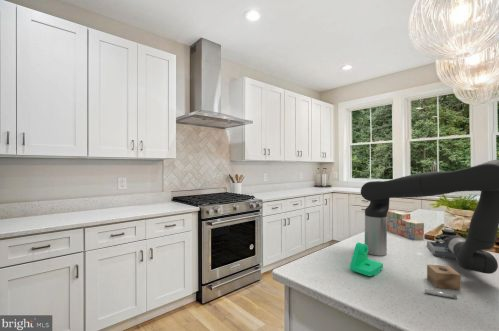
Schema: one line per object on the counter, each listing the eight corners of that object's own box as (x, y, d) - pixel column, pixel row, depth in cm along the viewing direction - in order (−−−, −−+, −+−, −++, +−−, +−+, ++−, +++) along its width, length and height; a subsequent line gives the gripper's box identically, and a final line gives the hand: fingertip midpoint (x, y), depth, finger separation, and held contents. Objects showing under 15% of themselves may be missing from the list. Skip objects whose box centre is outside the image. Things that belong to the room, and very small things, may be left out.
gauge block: (436, 287, 85) (436, 272, 85) (427, 277, 92) (427, 264, 91) (460, 289, 83) (460, 274, 83) (449, 280, 90) (449, 266, 90)
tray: (434, 256, 112) (434, 250, 112) (427, 245, 126) (427, 241, 126) (474, 261, 107) (474, 255, 107) (462, 249, 120) (462, 244, 120)
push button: (453, 253, 112) (453, 231, 112) (439, 250, 116) (439, 229, 116) (457, 250, 117) (457, 229, 116) (443, 247, 121) (443, 226, 121)
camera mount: (370, 279, 91) (370, 251, 91) (350, 272, 97) (350, 245, 97) (383, 270, 99) (383, 244, 99) (364, 264, 105) (364, 239, 104)
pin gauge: (425, 294, 80) (425, 290, 80) (424, 292, 82) (424, 288, 82) (456, 299, 77) (456, 295, 77) (455, 297, 78) (455, 293, 78)
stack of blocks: (424, 239, 136) (424, 217, 136) (414, 240, 135) (414, 217, 135) (394, 229, 157) (394, 209, 157) (385, 230, 156) (385, 210, 156)
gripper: (482, 240, 100) (466, 229, 116) (439, 235, 106) (429, 226, 122) (482, 258, 100) (466, 246, 116) (438, 253, 106) (429, 242, 122)
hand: (447, 236), depth 119 cm, fingers closed on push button, 3 cm apart
